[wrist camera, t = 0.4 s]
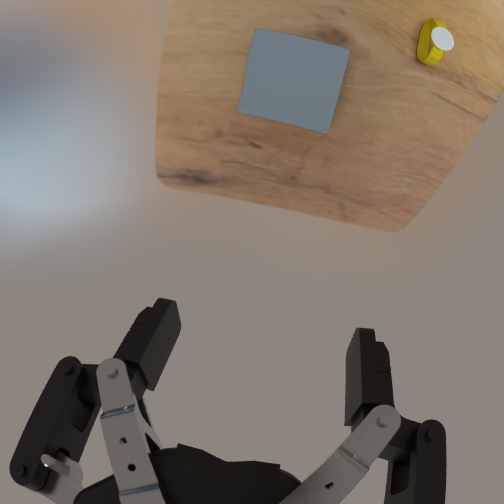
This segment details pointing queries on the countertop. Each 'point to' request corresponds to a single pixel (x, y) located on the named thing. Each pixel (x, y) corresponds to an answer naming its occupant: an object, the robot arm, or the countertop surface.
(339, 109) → the countertop surface
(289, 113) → the grey block
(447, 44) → the watch
